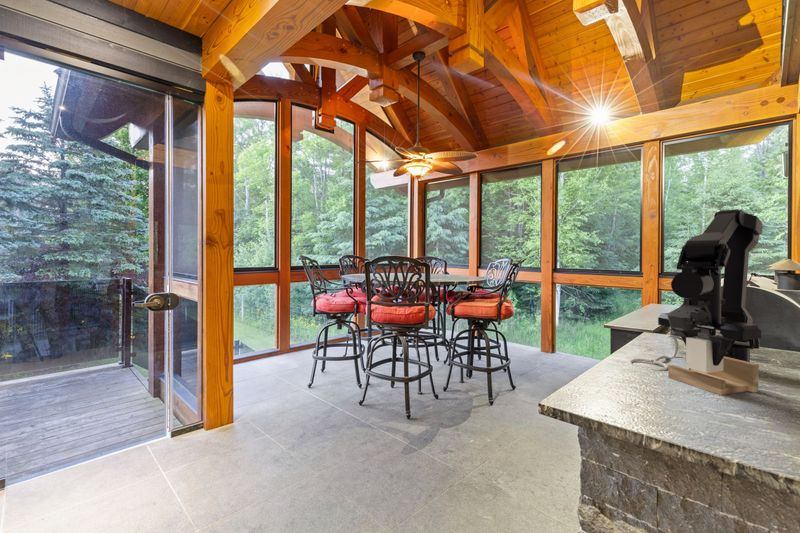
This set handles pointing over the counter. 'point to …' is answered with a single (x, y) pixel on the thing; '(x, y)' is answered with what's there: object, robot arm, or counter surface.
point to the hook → (658, 358)
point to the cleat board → (721, 377)
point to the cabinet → (701, 354)
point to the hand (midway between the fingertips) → (704, 362)
